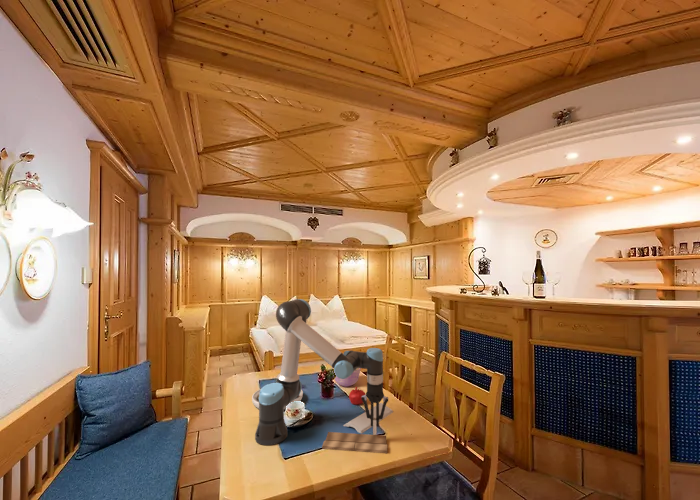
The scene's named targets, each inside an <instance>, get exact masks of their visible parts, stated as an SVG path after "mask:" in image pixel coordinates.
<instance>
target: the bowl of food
mask: <svg viewBox="0 0 700 500" xmlns="http://www.w3.org/2000/svg"><path fill="white" fill-rule="evenodd" d="M332 369H333V367H332V366H331V370H332ZM361 369H362V368H357V369H356V370H355V371H354V372H353V373H352V375H350V376H349V377H347V378H346V379H340V378H338V377H337V376H336V378H335V379H334V381H335V383H336V384H338V385H340V386H341V387H346V388H347V387H351V386H353V385H355V384H357V382H358V381H359V378H360V373H361Z"/></svg>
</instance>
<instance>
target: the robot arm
mask: <svg viewBox="0 0 700 500" xmlns="http://www.w3.org/2000/svg"><path fill="white" fill-rule="evenodd" d="M311 314H312V308H311V305H310V304H309V303H308V301H307V300H305V299H302V298H296V299H292V300H288V301H284V302H282V303H280V304H279V305H278V307H277V309H276V312H275V318H276V321H277V322H278V324H279V326H280V327H281V328H282V329H284V331H285V333H284V342H283V343H284V344H283V349H282V351H283V352H282V358H281V367H280V373H278V374H277V377H276V382H271V383H268V384H265V385H264V386H262V387H261V388H260V389H261V390H260V393H259V408H258V409H259V410H258V425H257V427H256V430H255V435H254V440H255V443H257V444H259V445H262V446H273V445H277V444H280V443H282V442H283V441H285V440H286V439H287V437H288V428H287V424H286V422H285V410H284V407H286V406H287V405H288V404H289V403H291V402H292V401H294V400H295V399H296V398H297V397H298V396H299V394H300V392H301V389H302V387H303V385H302V382H301V380H300V375H299V374H298V368H299V361H300V353H301V351H300V350H301V343H303V344H305V345H306V347H308V348H310V350H312V351H313V352H314V353H315V354H316V355H318V357H320V358H321V359H322V360H323V361H324V362H325V363H327V364H328V365H329V366H331V368H332V367H333V368H334V373H335V375H336V376H337V377H338V378H340V379H346V378H347V377H349V376H350V375H352V373H353V372H354V371H355V370H356V369H357V368H361V369H364V370H366V381H367V382H366V393H365V395H364V396H362V398H361V399H362V401H363V403H362V404H363V407H364V412H366V415H367V418H370V419H371V426H372V427H371V428H372V435H377V433H378V431H377V428H378V427H380V422H379V420H380V419H383V415H384V411H385V407H386V406H387V403H388V402H389V397H388V396H385V393H384V383H383V382H384V371H383V370H384V363H383V362H384V358H383V357H384V356H383V355H384V354H383V350H382V349H381V348H378V347H377V348H376V347H369V348H368V349H367V350H366V352H365V351H356V350H344V352H341V351H340V350H339V349H338V348H337V347H336V346H334V344H332V343H331V342H329V341H328V340H327V339H325V337H323V336H322V335H321V334H320V333H318V332H317V331H316V330H315V329H313V328H312V327H311V326H310V325H309V324H308V323H307V320H308V319H309V318H310V317H311ZM367 400H368V401H369V402H370V408H369V405H368V401H367ZM382 400H383V402H382V403H383V406H382V410H381V414H380V415H379V403H381V401H382ZM374 404H375V405H374ZM374 406H376V418H373V417H374ZM369 409H371V415H370V413H369ZM383 420H384V419H383Z"/></svg>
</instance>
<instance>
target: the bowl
mask: <svg viewBox="0 0 700 500" xmlns="http://www.w3.org/2000/svg"><path fill="white" fill-rule="evenodd" d="M261 389H262V388H260V389H258V390H256V391H255V392H254V393H253V394H252V396H251V402H252V405H253V406H255V408H257V409H259V393H260V390H261ZM303 395H304V391H303V390H302V389H301V392H300V394H299V396H298V397H297V398H296V399H295V400H294V401H300V402H301V401H302V398H303V397H304V396H303ZM294 401H292V402H294ZM285 410H287V409H286V407H284V411H285Z"/></svg>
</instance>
